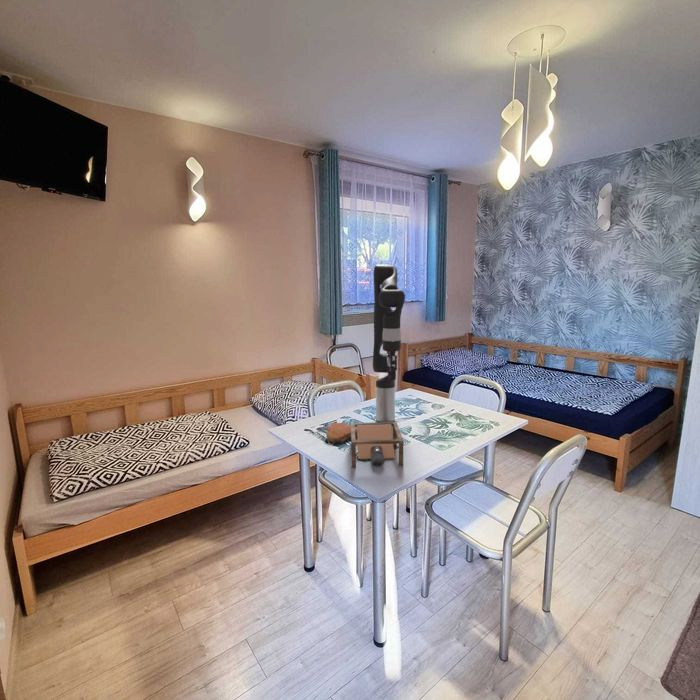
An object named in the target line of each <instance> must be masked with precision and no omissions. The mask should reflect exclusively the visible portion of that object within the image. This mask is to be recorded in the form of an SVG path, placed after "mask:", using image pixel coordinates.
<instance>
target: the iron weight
mask: <svg viewBox="0 0 700 700" xmlns="http://www.w3.org/2000/svg"><path fill="white" fill-rule="evenodd" d="M370 452H371V459H370V460H371V464H372V465H373V466H375V467H380V466H383V465H384V463H385V459H384V454H383V448H382V447H381V446H379V445H375V446H373V447H372V448H371V450H370Z"/></svg>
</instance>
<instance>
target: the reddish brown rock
mask: <svg viewBox="0 0 700 700" xmlns="http://www.w3.org/2000/svg"><path fill="white" fill-rule="evenodd" d="M356 436H357V427H355V438H357V437H356ZM326 437H327V440H328V441H329V442H330V443H342V442H343V443H345V442H346V441H347V440H349V439H351V424H347V423H343V422H342V423H341V422H333V423H331V424H330V425H329V426H328V428H327V432H326ZM343 443H342V444H343Z"/></svg>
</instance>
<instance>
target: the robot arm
mask: <svg viewBox="0 0 700 700" xmlns="http://www.w3.org/2000/svg"><path fill="white" fill-rule="evenodd" d="M373 295H374V296H373V297H374V299H373V301H374V302H373V304H374V305H373V352H372V353H373V354H372V369H373V372H375V373H387V375H385V376H383V377H381V378H378V379H376V380H375V420H376V421H377V422H395V419H396V418H395V417H396V415H395V414H396V412H395V411H396V408H395V407H396V406H395V405H396V381H395V380H396V377H397V372H396V371H397V370H398V355H397V354H396V352H399V351H401V349H402V331H401V317H402V311H403V308H404V305H405V300H406V294H405V292H404V291H403V290H402V289H399V287H398V269H397V267H396V265H392V264H391V265H390V264H377V265H375V266H374V267H373ZM392 308H395V309H394V310H393V309H392ZM381 349H382V351H384V352H386V353H381Z"/></svg>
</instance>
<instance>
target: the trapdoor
mask: <svg viewBox="0 0 700 700" xmlns="http://www.w3.org/2000/svg"><path fill="white" fill-rule="evenodd" d="M356 429H357V437H356V438H357V439H356V440H392V439H393V426H391V424H385V425H357V427H356ZM375 445H379V446H381V447H382V448H383V454H384V460H392V459H393V460H394V459H396V458H395V449H394V447H395V446H393V444H359V445H357V456H358V457H357V459H360V460H371V452H370V450H371V448H372V447H373V446H375Z"/></svg>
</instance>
